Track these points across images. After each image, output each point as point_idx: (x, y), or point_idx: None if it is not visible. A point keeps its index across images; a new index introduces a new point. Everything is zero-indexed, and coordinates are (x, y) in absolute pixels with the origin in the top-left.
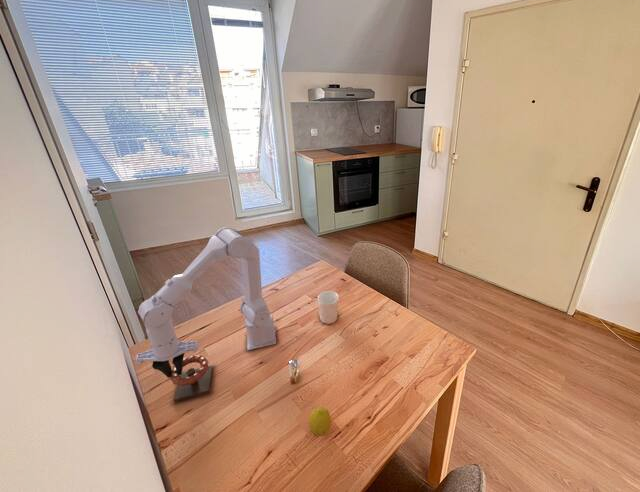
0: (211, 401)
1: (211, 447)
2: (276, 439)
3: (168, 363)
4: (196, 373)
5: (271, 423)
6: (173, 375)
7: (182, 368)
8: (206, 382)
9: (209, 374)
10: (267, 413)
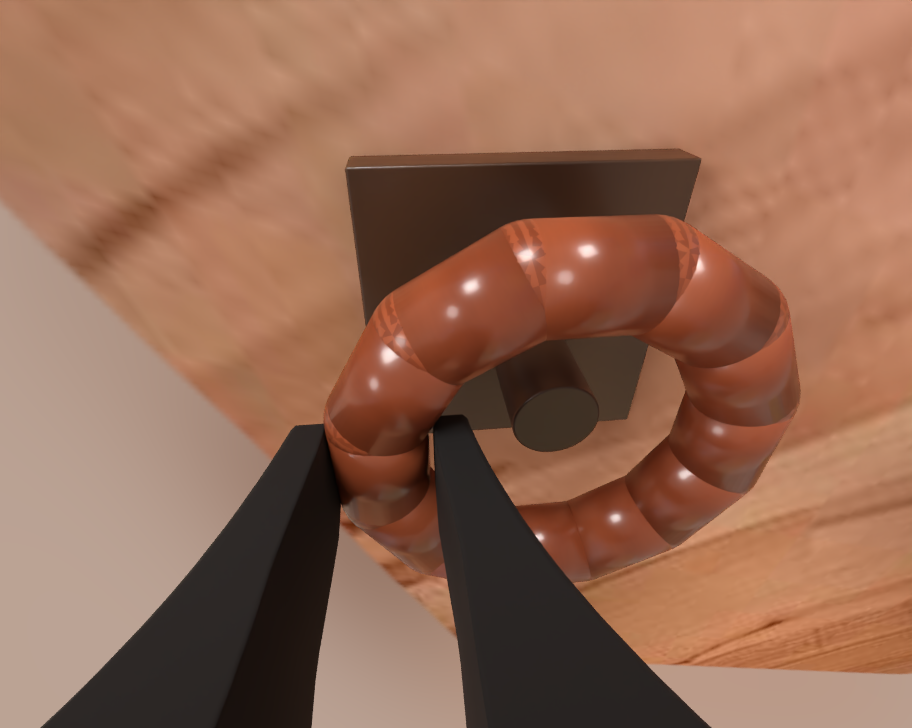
0: (618, 448)
1: (594, 600)
2: (814, 602)
3: (284, 585)
4: (647, 544)
5: (833, 565)
6: (393, 542)
7: (468, 423)
8: (619, 355)
9: None
10: (845, 536)
